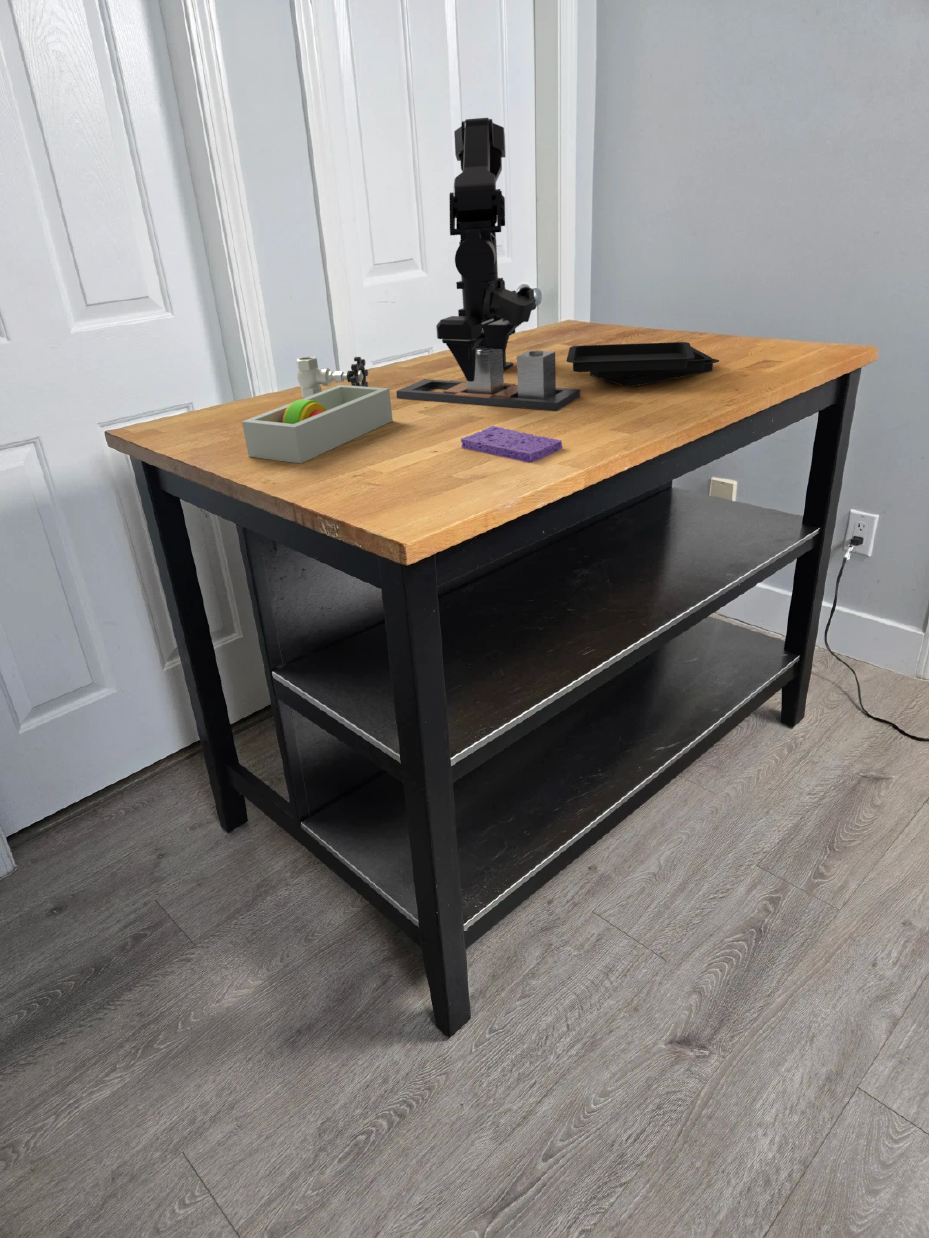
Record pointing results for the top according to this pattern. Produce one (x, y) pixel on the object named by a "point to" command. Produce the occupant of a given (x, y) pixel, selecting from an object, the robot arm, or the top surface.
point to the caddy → (318, 424)
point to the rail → (484, 395)
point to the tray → (639, 362)
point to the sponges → (511, 444)
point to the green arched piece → (302, 411)
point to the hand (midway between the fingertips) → (484, 375)
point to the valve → (327, 375)
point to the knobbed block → (487, 372)
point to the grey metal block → (536, 375)
